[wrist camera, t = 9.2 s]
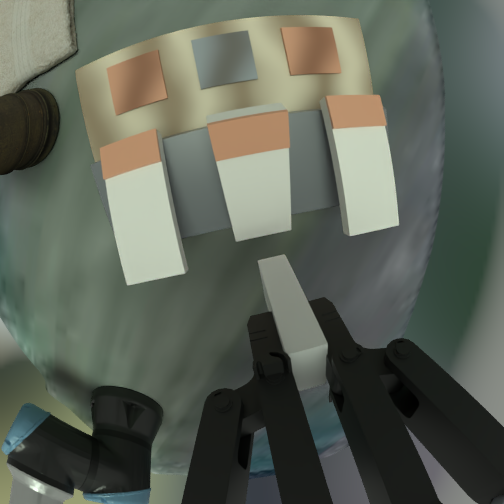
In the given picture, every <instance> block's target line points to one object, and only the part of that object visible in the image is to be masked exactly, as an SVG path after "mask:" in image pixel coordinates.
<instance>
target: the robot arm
mask: <svg viewBox="0 0 504 504" xmlns="http://www.w3.org/2000/svg"><path fill="white" fill-rule="evenodd" d="M258 265H259V270H260V275H261V280H262V286H263V291H264V296H265V300H266V304H267V307H268V311H269V312H266V313H262V314H257V315H253V316H250V318H249V321H248V324H247V326H248V332H249V337H250V342H251V348H252V353H253V359H254V361H253V371H254V376H253V378H252V379H251V380H250V381H249V382H248V383H247V384H246V385H244V386H242V387H240V388H238V389H236V390H232V389H227V388H224V389H218V390H216V391H214V392H212V393H211V394H210V395H209V396H208V397H207V399H206V401H205V404H204V408H203V412H202V417H201V421H200V425H199V429H198V434H197V438H196V442H195V446H194V451H193V455H192V459H191V463H190V468H189V472H188V477H187V481H186V485H185V490H184V495H183V499H182V503H181V504H245V502H246V494H247V487H248V480H249V472H250V464H251V456H252V447H253V439H254V432H255V431H257V430H259V429H261V428H263V427H265V426H266V431H267V435H268V440H269V445H270V450H271V455H272V459H273V464H274V469H275V474H276V478H277V483H278V487H279V492H280V496H281V501H282V504H333V502H332V499H331V496H330V493H329V489H328V486H327V483H326V480H325V476H324V473H323V470H322V466H321V463H320V460H319V456H318V453H317V450H316V447H315V443H314V440H313V437H312V434H311V430H310V427H309V424H308V421H307V417H306V414H305V411H304V408H303V404H302V401H301V398H300V395H299V391H301V390H305V389H309V388H312V387H316V386H319V385H322V384H326V378H327V380H328V383H329V385H330V390H329V402H332V400H333V403H334V406H335V408H336V411H337V414H338V416H339V419H340V422H341V424H342V427H343V430H344V432H345V435H346V438H347V440H348V443H349V446H350V448H351V451H352V454H353V456H354V459H355V462H356V465H357V467H358V471H359V473H360V476H361V479H362V482H363V485H364V487H365V490H366V493H367V496H368V499H369V502H370V504H442V503H441V502H440V501H439V499H438V497H437V494H436V492H435V490H434V487H433V485H432V483H431V480H430V478H429V476H428V473H427V471H426V469H425V467H424V465H423V462H422V460H421V458H420V456H419V454H418V451H417V449H416V447H415V445H414V443H413V441H412V439H411V437H410V435H409V433H408V431H407V429H406V426H407V427H408V429H409V430H410V431H411V432H412V433H413V434H414V435H415V436H416V438H417V439H418V440H419V441H420V442H421V443H422V444H423V445H424V446H425V448H426V449H427V450H428V451H429V452H430V453H431V454H432V455H433V457H434V458H435V459H436V460H437V461H438V462H439V463H440V464H441V466H442V467H443V468H444V469H445V470H446V471H447V472H448V473H449V474H450V476H451V477H452V478H453V479H454V480H455V481H456V482H457V484H458V485H459V486H460V487H461V488H462V489H463V490H464V491H465V492H466V493H467V495H468V496H469V497H470V498H472V499H473V500H474V501H475V502H477V503H478V504H504V427H503V426H502V425H501V424H500V423H499V422H498V421H497V420H496V419H495V418H494V417H493V416H492V415H491V414H490V413H489V412H488V411H487V410H486V409H485V408H484V407H483V406H482V405H480V403H479V402H478V401H477V400H475V399H474V398H473V397H472V396H471V395H470V394H469V393H468V392H467V391H466V390H465V389H464V388H463V387H462V386H460V384H458V383H457V382H456V381H455V380H454V379H453V378H452V377H451V376H450V375H449V374H448V373H446V372H445V371H444V370H443V369H442V368H441V367H440V366H439V365H438V364H437V363H436V362H434V361H433V360H432V359H431V358H430V357H429V356H428V355H427V354H426V353H424V352H423V351H422V350H421V349H420V348H419V347H418V346H417V345H415V344H414V343H413V342H411V341H410V340H408V339H404V338H400V339H395V340H393V341H391V342H390V343H389V344H388V345H387V348H380V349H367V348H363V347H362V346H361V345H359V344H357V343H355V341H354V340H353V338H352V337H351V335H350V333H349V331H348V329H347V328H346V326H345V324H344V322H343V321H342V319H341V318H340V315H339V314H338V312H337V310H336V308H335V307H334V305H333V303H332V302H330V301H329V300H328V299H326V298H325V297H323V298H319V299H315V300H312V301H307V299H306V296H305V294H304V292H303V290H302V288H301V286H300V284H299V282H298V280H297V278H296V276H295V274H294V272H293V270H292V268H291V266H290V264H289V262H288V260H287V258H286V256H285V254H284V255H279V256H275V257H270V258H266V259H262V260H258ZM91 411H92V420H93V433H92V436H91V435H89V434H86V433H84V432H82V431H80V430H78V429H76V428H74V427H72V426H71V425H69V424H67V423H65V422H63V421H61V420H60V419H58V418H56V417H55V416H53V415H51V414H50V412H46V411H44V410H42V409H41V408H39V407H37V406H36V405H34V404H31V403H26V404H24V405H23V406H22V407H21V409H20V411H19V413H18V415H17V417H16V418H15V420H14V422H13V424H12V426H11V428H10V430H9V432H8V434H7V437H6V439H5V441H4V443H3V445H2V451H3V452H4V453H5V454H6V455H8V460H7V466H8V468H9V470H10V472H11V474H12V476H13V482H12V488H11V495H10V503H9V504H63V502H64V501H65V500H67V499H69V498H72V497H73V493H74V488H75V489H78V490H80V491H83V496H84V499H86V500H89V501H93V502H99V503H104V504H148V503H149V497H150V491H151V488H150V469H151V447H152V442H153V440H154V438H155V436H156V434H157V432H158V430H159V428H160V426H161V424H162V417H163V411H162V408H161V407H160V406H159V405H158V404H157V403H156V402H155V401H153V400H152V399H150V398H148V397H147V396H145V395H142V394H140V393H138V392H135V391H132V390H128V389H124V388H119V387H111V386H106V387H100V388H97V389H95V390H94V391H93V394H92V398H91ZM405 425H406V426H405Z"/></svg>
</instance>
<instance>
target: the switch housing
mask: <svg viewBox="0 0 504 504" xmlns="http://www.w3.org/2000/svg"><path fill="white" fill-rule="evenodd" d="M383 110H384V115H385V119H386V123H387V113H386V108H383ZM288 116H289V135H290V148H289V165H290V194H291V215H292V214H297V213H303V212H308V211H313V210H318V209H323V208H328V207H334V206H339V205H340V203H339V197H338V190H337V184H336V178H335V172H334V167H333V161H332V156H331V151H330V146H329V141H328V136H327V132H326V127H325V123H324V118H323V114H322V110H321V109H310V110H300V111H291V112H288ZM385 129H386V133H387V138H388V143H389V137H388V124H387V126H385ZM162 142H163V148H164V154H165V160H166V166H167V172H168V177H169V183H170V188H171V193H172V198H173V203H174V208H175V213H176V218H177V223H178V227H179V232H180V236H181V239H182V238H186V237H191V236H195V235H199V234H204V233H208V232H213V231H217V230H222V229H226V228H231V227H232V224H231V220H230V216H229V212H228V208H227V204H226V200H225V196H224V192H223V188H222V184H221V180H220V176H219V172H218V167H217V163H216V160H215V156H214V152H213V148H212V144H211V140H210V135H209V131H208V127H207V126H205V127H201V128H197V129H193V130H189V131H185V132H182V133H178V134H174V135H171V136H167V137H164V138H162ZM90 166H91V169H92V172H93V176H94V179H95V182H96V185H97V188H98V191H99V194H100V197H101V200H102V203H103V206H104V208H105V211H106V214H107V217H108V219H109V222H110V225H111V227H112V230H113V232H114V229H113V224H112V219H111V213H110V208H109V202H108V196H107V189H106V182H105V180H104V179H103V174H102V165H101V160H100V161H97V162H95V163H93V164H91V165H90ZM114 235H115V234H114Z"/></svg>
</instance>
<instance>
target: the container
mask: <svg viewBox="0 0 504 504" xmlns="http://www.w3.org/2000/svg"><path fill="white" fill-rule="evenodd" d="M58 128H59V112H58V107H57V103H56V101H55V99H54V97H53V96H52V94H50V93H49V92H48V91H46V90H44V89H41V88H34V89H30V90H29V89H28V90H23V91H20V92H18V93H16V94H15V93H9V94H5V95H3V96H0V175H5V174H8V173H10V172H12V171H13V170H23V169H26V168H28V167H32V166H35V165H37V164H38V163H40V162H41V161H42V160H43V159H44V158H45V157H46V156H47V155H48V153H49V152H50V150H51V149H52V147H53V145H54V143H55V140H56V137H57V133H58Z"/></svg>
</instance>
